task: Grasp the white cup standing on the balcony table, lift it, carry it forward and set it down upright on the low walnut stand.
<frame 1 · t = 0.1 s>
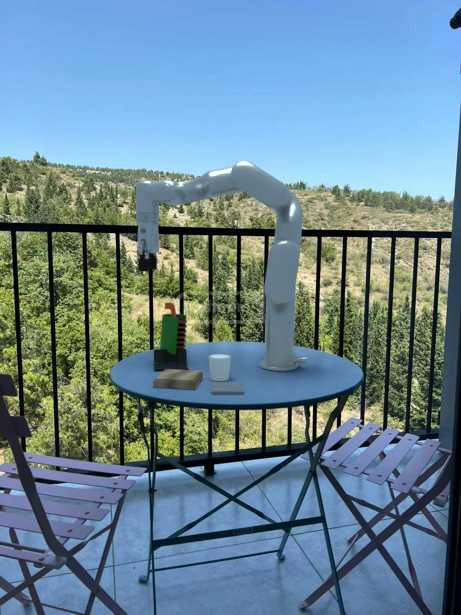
hand: (148, 270, 174), 31 cm above the table, tool pointing down, fingers open, 9 cm apart
stand: (178, 382, 152), on the table
white cup: (219, 379, 157), on the table
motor: (172, 361, 177), on the table
handheld gaming console: (170, 369, 169), on the table
slate coaster: (227, 389, 145), on the table
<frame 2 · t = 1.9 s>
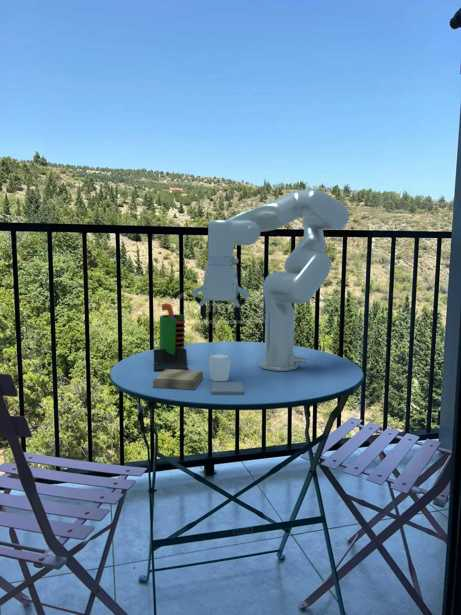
hand: (219, 319, 154), 18 cm above the table, tool pointing down, fingers open, 9 cm apart
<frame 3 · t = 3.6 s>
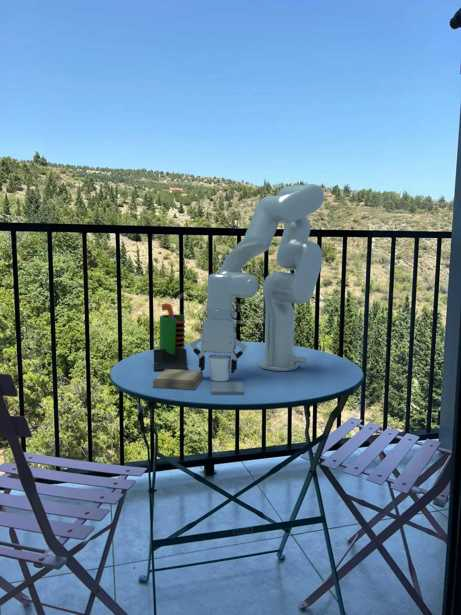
hand: (217, 371, 156), 2 cm above the table, tool pointing down, fingers open, 9 cm apart
nothing on the table moved.
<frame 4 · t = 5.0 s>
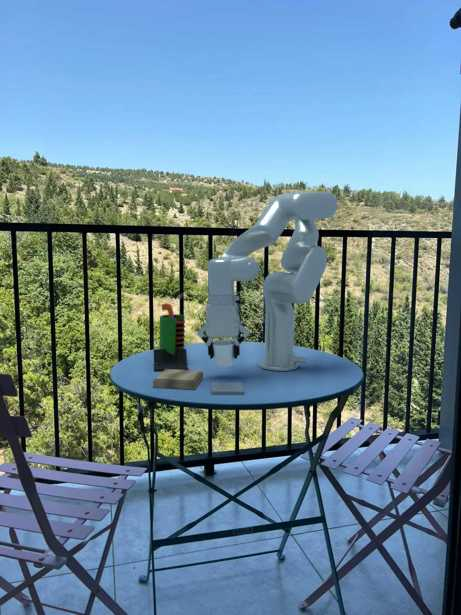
hand: (224, 357, 157), 6 cm above the table, tool pointing down, fingers closed on white cup, 6 cm apart
white cup: (224, 364, 158), point 4 cm above the table, touching gripper
everything else where it was.
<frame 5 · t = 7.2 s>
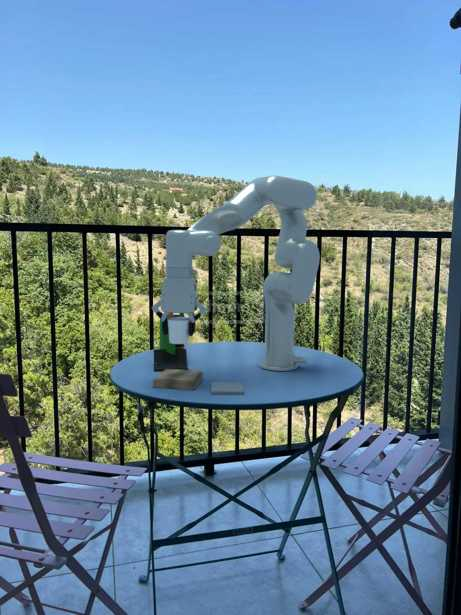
hand: (178, 334, 150), 14 cm above the table, tool pointing down, fingers closed on white cup, 6 cm apart
white cup: (179, 342, 150), point 12 cm above the table, touching gripper
everything else where it was.
when the fingers open (5 cm above the table, at t = 9.3 s): white cup stays where it is, resting on stand.
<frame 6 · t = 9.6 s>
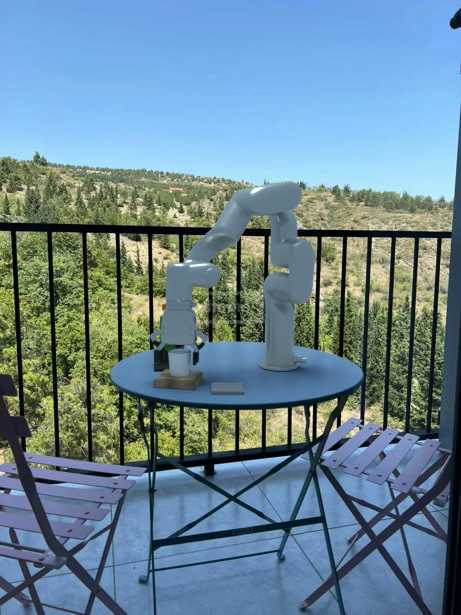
hand: (178, 363, 151), 6 cm above the table, tool pointing down, fingers open, 9 cm apart
white cup: (179, 374, 152), point 2 cm above the table, touching stand
everything else where it was.
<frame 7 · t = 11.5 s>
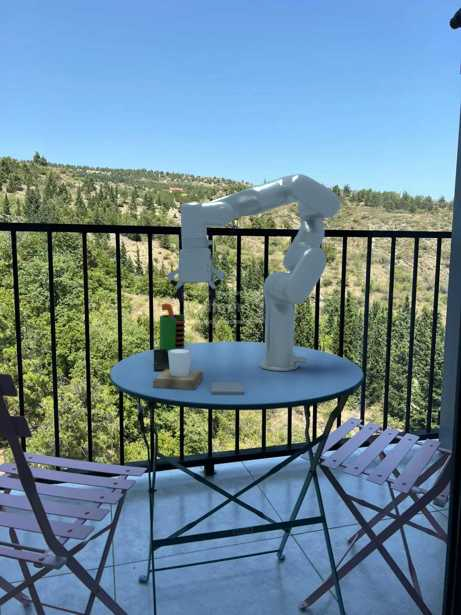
hand: (196, 301, 156), 23 cm above the table, tool pointing down, fingers open, 9 cm apart
nothing on the table moved.
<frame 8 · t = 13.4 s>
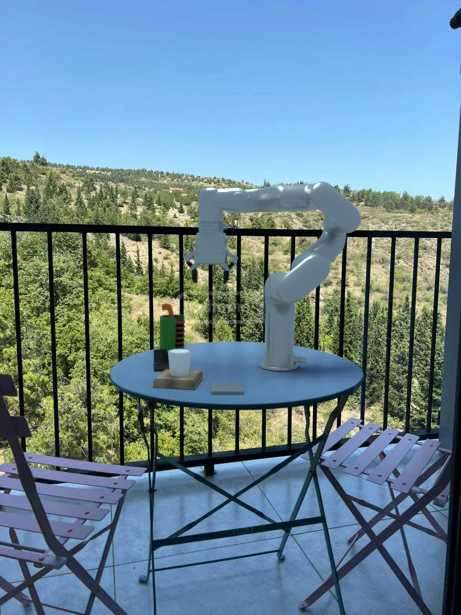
hand: (210, 282, 164), 28 cm above the table, tool pointing down, fingers open, 9 cm apart
nothing on the table moved.
at the end: white cup inside the target area on the stand (0.5 cm from its centre), point 2.3 cm above the stand's base; white cup tilted 0°; the gripper is holding nothing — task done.
